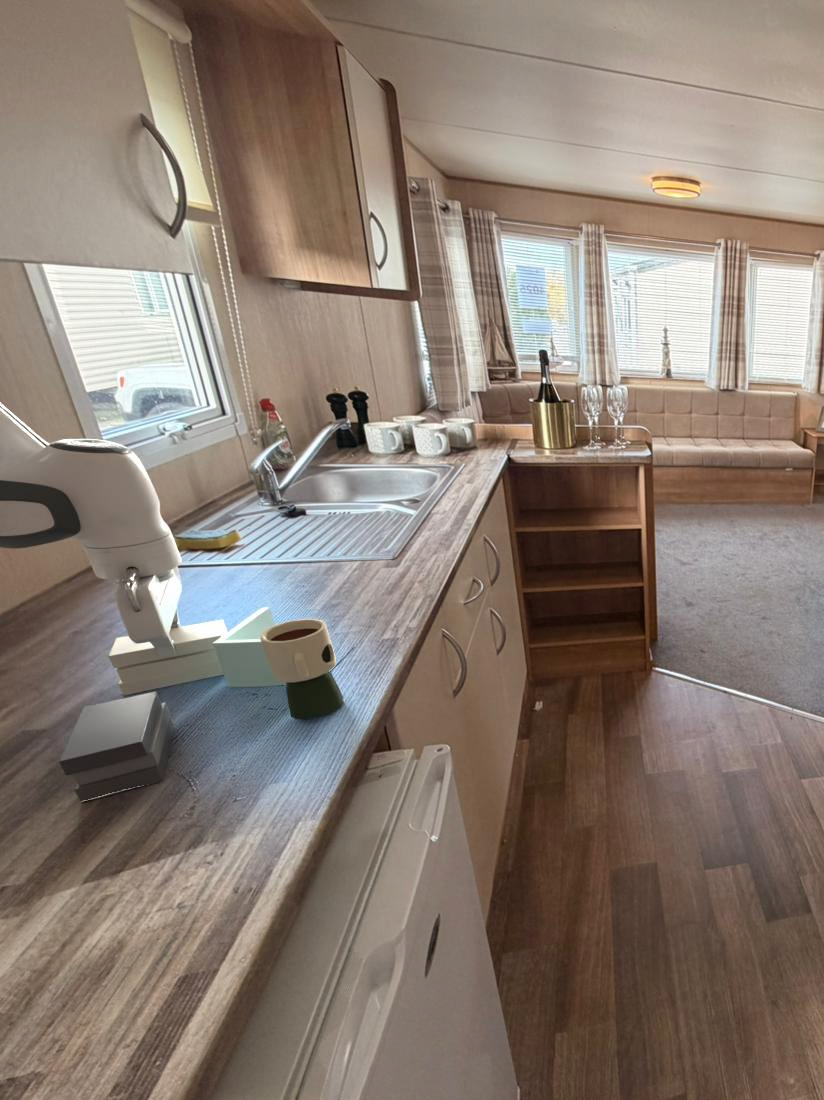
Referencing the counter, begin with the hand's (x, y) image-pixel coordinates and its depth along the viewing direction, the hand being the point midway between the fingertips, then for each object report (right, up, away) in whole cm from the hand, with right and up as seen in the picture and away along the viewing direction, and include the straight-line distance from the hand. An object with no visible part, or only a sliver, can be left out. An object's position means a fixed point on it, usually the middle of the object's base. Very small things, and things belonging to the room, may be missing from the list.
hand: (171, 643), depth 95 cm
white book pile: (0, -5, +2) cm, 5 cm away
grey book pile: (+11, -14, -16) cm, 24 cm away
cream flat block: (0, -1, 0) cm, 1 cm away
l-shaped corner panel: (+14, -4, +6) cm, 16 cm away
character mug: (+26, -9, -5) cm, 28 cm away
